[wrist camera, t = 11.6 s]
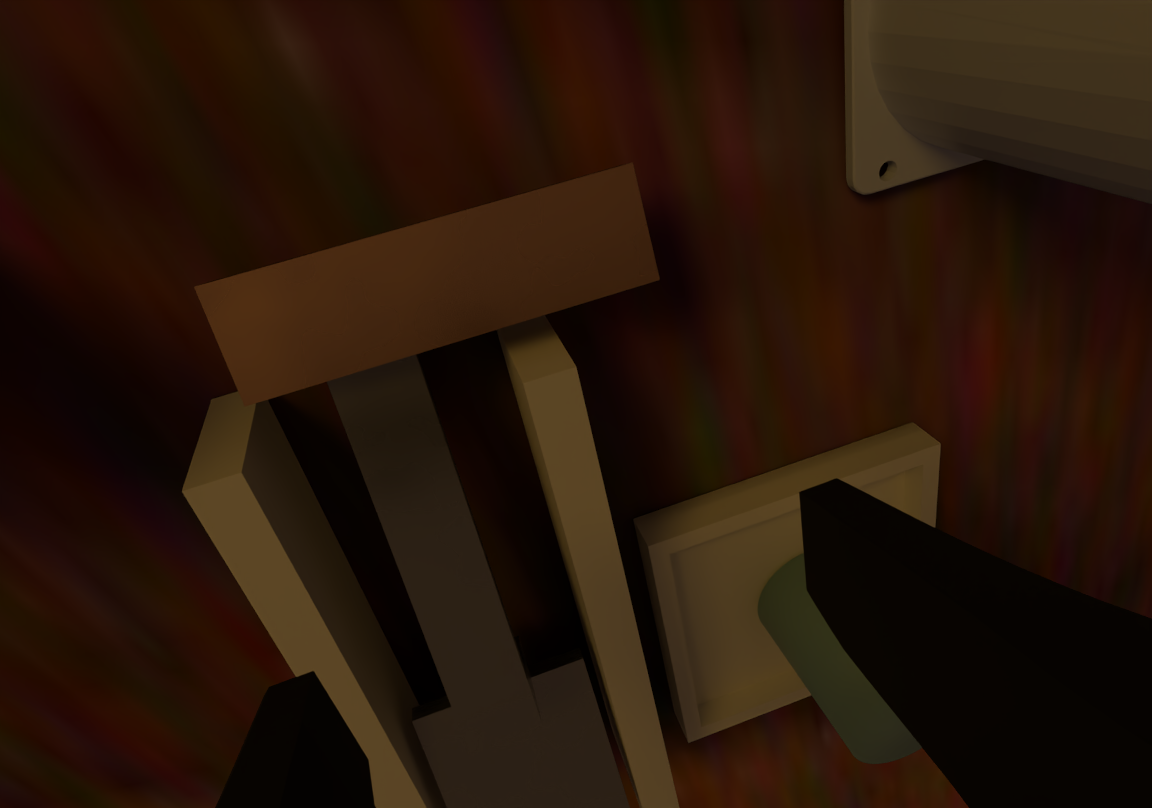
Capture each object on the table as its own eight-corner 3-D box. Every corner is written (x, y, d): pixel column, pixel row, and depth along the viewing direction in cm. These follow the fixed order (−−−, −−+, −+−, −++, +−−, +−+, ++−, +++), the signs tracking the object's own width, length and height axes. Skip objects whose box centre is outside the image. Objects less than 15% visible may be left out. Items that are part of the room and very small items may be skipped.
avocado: (823, 529, 26) (934, 650, 21) (874, 578, 28) (985, 697, 23) (737, 606, 26) (826, 739, 22) (793, 648, 28) (886, 777, 24)
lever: (590, 171, 19) (632, 162, 16) (737, 760, 25) (794, 858, 21) (235, 271, 18) (188, 288, 14) (474, 864, 24) (486, 987, 20)
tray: (912, 421, 25) (940, 443, 24) (904, 624, 30) (926, 650, 29) (632, 518, 24) (648, 546, 23) (674, 712, 29) (688, 742, 28)
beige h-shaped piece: (535, 301, 20) (576, 366, 16) (641, 719, 29) (681, 816, 25) (211, 399, 18) (181, 490, 15) (429, 800, 28) (441, 912, 24)
